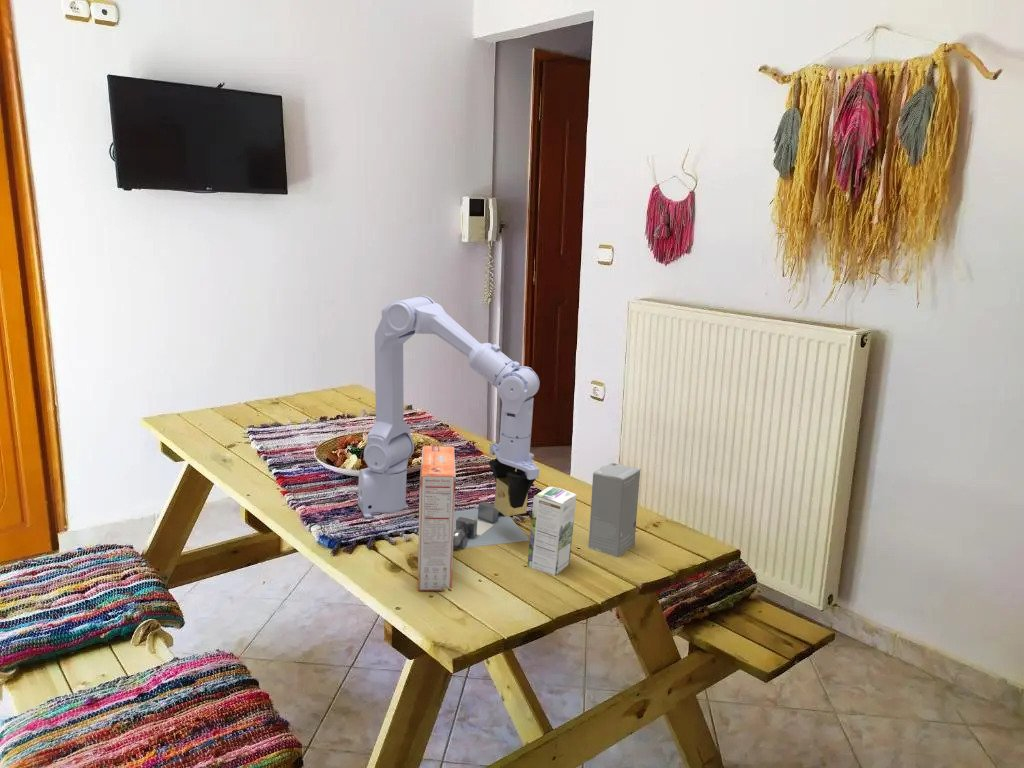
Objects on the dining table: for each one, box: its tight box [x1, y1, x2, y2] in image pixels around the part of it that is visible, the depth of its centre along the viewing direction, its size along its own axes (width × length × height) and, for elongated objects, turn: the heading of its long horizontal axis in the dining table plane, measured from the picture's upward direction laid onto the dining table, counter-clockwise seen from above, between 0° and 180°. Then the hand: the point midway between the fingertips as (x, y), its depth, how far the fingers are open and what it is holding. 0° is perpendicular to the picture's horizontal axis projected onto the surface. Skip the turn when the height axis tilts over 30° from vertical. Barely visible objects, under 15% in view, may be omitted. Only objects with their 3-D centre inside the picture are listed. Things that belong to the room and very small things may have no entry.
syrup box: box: [526, 486, 578, 576], centre depth 141 cm, size 6×6×14 cm
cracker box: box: [417, 445, 457, 592], centre depth 136 cm, size 14×6×21 cm, turn 5°
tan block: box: [494, 476, 529, 517], centre depth 150 cm, size 5×4×6 cm
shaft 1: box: [453, 517, 477, 550], centre depth 148 cm, size 7×4×3 cm, turn 161°
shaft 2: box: [477, 501, 505, 524], centre depth 161 cm, size 7×4×3 cm, turn 146°
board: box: [453, 508, 530, 550], centre depth 156 cm, size 16×16×1 cm
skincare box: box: [588, 462, 641, 558], centre depth 150 cm, size 8×7×16 cm
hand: (510, 501), depth 151 cm, fingers closed on tan block, 4 cm apart
